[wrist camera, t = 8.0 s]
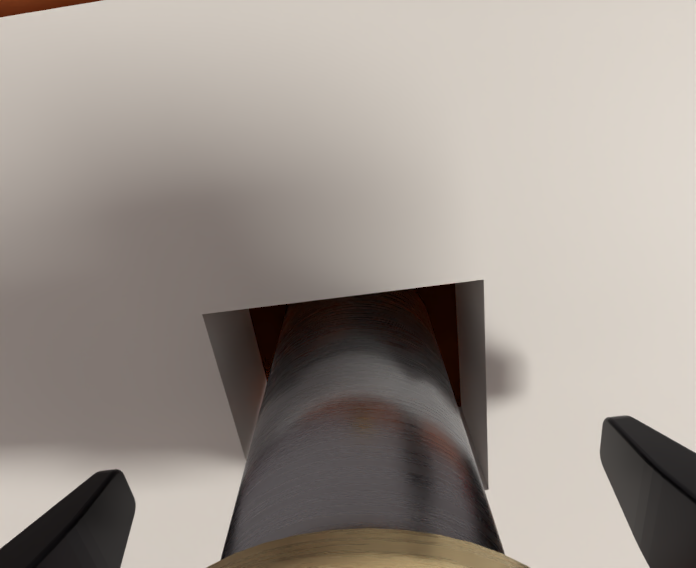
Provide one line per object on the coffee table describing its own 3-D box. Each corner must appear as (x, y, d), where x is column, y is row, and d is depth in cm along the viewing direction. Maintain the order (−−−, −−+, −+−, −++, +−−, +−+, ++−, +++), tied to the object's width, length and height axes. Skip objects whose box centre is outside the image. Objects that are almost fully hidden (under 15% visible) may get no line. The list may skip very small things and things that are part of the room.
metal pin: (447, 231, 12) (681, 618, 3) (457, 401, 14) (615, 892, 6) (240, 258, 12) (2, 671, 4) (280, 421, 14) (185, 912, 6)
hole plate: (826, -87, 9) (1033, -154, 6) (692, 511, 16) (765, 606, 13) (-156, 72, 10) (-340, 73, 7) (104, 565, 17) (56, 662, 14)
